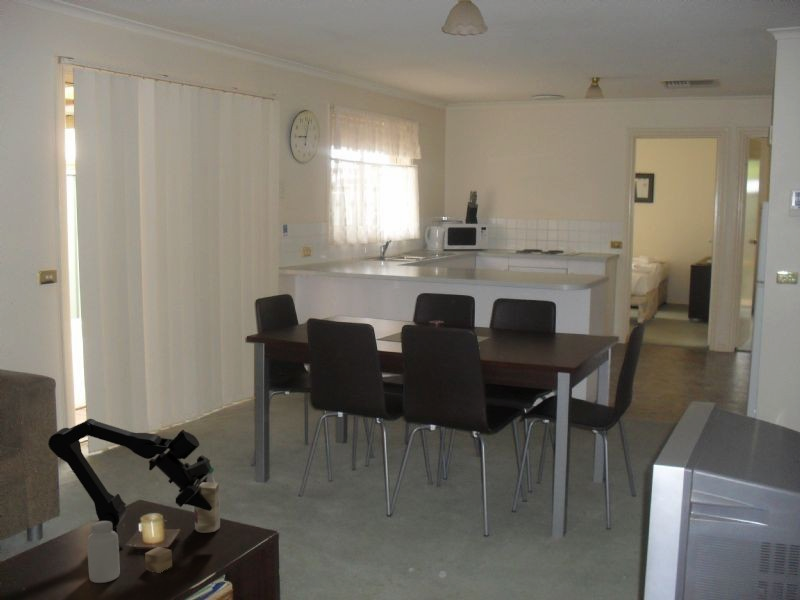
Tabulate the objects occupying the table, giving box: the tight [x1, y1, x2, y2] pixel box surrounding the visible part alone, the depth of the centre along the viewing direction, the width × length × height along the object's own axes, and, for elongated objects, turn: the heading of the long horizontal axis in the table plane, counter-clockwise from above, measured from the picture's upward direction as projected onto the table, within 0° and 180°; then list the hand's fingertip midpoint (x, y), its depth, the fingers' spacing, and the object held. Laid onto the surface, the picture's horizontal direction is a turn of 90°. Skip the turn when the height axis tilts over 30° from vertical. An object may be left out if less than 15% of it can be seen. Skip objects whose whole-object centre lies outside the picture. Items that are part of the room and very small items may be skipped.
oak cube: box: [144, 546, 173, 574], centre depth 224 cm, size 5×5×5 cm
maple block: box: [197, 482, 220, 533], centre depth 235 cm, size 5×5×13 cm
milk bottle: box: [193, 464, 221, 534], centre depth 250 cm, size 8×8×20 cm
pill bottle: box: [86, 521, 121, 584], centre depth 218 cm, size 8×8×15 cm
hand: (212, 506), depth 235 cm, fingers closed on maple block, 5 cm apart
